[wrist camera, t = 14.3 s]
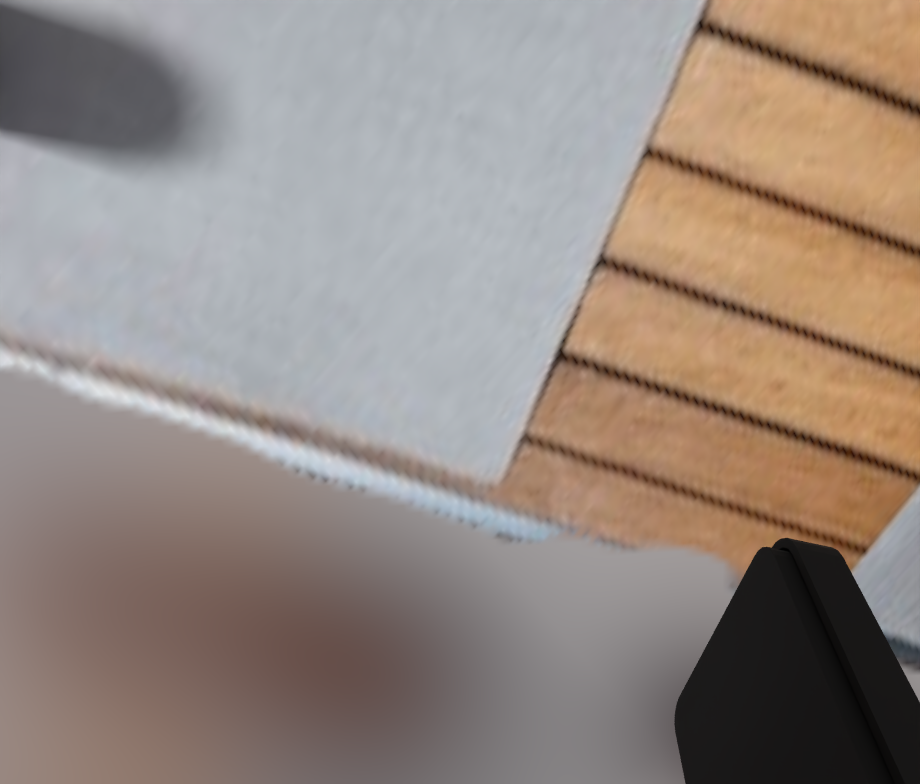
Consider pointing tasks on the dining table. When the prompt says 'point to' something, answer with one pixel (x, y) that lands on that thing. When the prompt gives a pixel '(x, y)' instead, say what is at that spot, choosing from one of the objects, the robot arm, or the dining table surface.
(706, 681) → the robot arm
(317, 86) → the dining table surface
